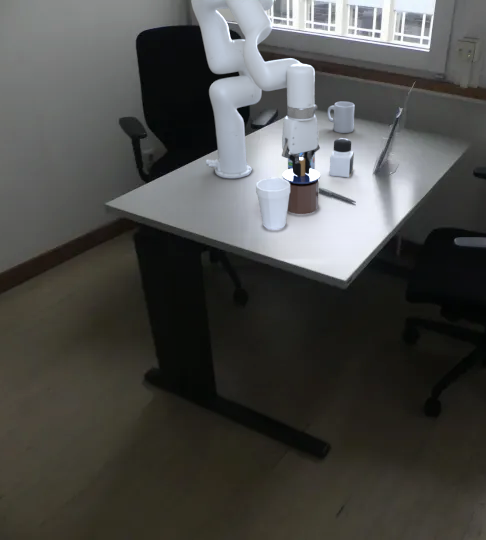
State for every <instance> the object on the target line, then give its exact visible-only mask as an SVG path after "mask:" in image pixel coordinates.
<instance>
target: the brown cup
mask: <svg viewBox="0 0 486 540" xmlns="http://www.w3.org/2000/svg"><path fill="white" fill-rule="evenodd" d="M319 182H320V178H319V179H318V180H317V181H315V182H312V183H307V184H296V183H291V182H289V183H290V194H289V202H288V210H287V213H288V212H289V213H290V214H293V215H307V214H313V213H314V212H316V211H317V210H318V209H319Z"/></svg>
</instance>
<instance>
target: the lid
mask: <svg viewBox="0 0 486 540" xmlns="http://www.w3.org/2000/svg"><path fill="white" fill-rule="evenodd" d="M299 163H300V164H301V176H299V177H298V176H297V175H295V174H293V168H292V169H289V170H288V169H286V170H285V171H283V172H282V179H285V180H287V181H289V182H291V183H296V184H307V183H312V182H315V181H317V180H318V179H319V180H320V178H321V173H320V172H319V171H318V170H317V169H315V170H314V169H310V173H309V174H306V173H305V158H303V157H299Z"/></svg>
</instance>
